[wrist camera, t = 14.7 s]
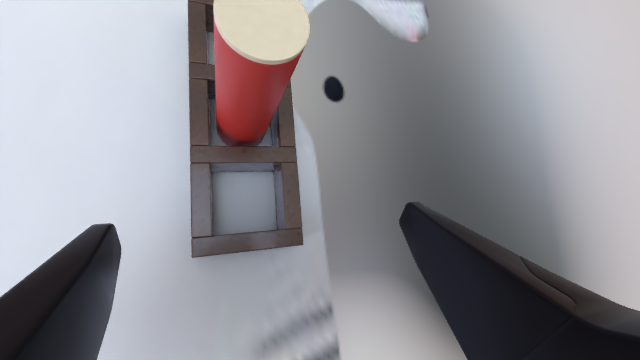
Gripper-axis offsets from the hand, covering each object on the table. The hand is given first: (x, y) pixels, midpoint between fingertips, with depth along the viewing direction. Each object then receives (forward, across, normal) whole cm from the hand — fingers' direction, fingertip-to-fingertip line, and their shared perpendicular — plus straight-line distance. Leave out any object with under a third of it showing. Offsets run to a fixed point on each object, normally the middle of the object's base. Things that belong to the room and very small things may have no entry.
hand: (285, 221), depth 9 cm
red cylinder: (+15, 0, +4) cm, 16 cm away
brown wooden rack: (+15, 0, +4) cm, 16 cm away
